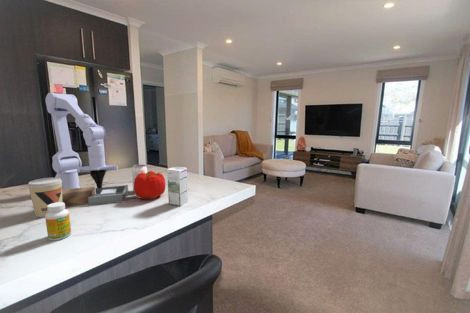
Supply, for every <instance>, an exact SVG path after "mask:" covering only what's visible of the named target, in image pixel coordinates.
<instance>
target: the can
mask: <svg viewBox="0 0 470 313" xmlns="http://www.w3.org/2000/svg"><path fill="white" fill-rule="evenodd" d="M147 172H148V168H147V166H146V165H145V164H134V165H132V168H131V178H132V180H131V181H132V190H133V192H134V180H135V178H136V177H137V176H138V174H141V173H145V174H146V173H147Z"/></svg>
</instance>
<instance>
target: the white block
mask: <svg viewBox="0 0 470 313" xmlns="http://www.w3.org/2000/svg"><path fill="white" fill-rule="evenodd" d="M115 194H117V189H108V190H102V192H101V193H100V196H104V195H115Z"/></svg>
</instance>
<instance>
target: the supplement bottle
mask: <svg viewBox="0 0 470 313" xmlns="http://www.w3.org/2000/svg"><path fill="white" fill-rule="evenodd" d="M47 210H48V211H49V212H48V213H47V214H46V215H45V217H44V220H45V224H46V232H47V233H46V234H47V239H48V240H50V241H59V240H64V239H66V238H68V237H70V236H71V235H72V228H71V219H70V212H69V210H68V209H67V208H66V206H65V203H64V202H56V203H52V204H49V205H48V206H47Z"/></svg>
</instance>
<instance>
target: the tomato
mask: <svg viewBox="0 0 470 313" xmlns="http://www.w3.org/2000/svg"><path fill="white" fill-rule="evenodd" d="M165 191H166V179H165V176H164V175H163V174H162V173H159V172H157V173H156V172H155V171H153V170H149V171H147V173H146V174H145V173H141V174H138V176H137V177H136V178H135V180H134V191H133V192H134V195H135V196H136V197H138V198H140V200H141V199H142V200H147V199H153V200H154V199H156V198H158V197H160V196H162V195H163V194H164V193H165Z"/></svg>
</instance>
